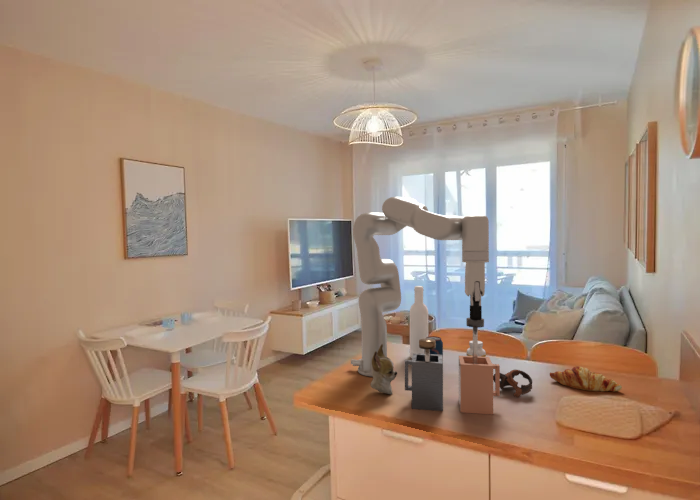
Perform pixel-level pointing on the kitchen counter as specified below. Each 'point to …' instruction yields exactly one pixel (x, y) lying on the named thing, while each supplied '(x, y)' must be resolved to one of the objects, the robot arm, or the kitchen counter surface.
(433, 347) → the plunger bronze
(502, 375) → the brown curved piece
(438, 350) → the soda can
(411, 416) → the kitchen counter surface
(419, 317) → the bottle
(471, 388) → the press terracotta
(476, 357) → the grey plunger
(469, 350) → the supplement bottle
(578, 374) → the croissant
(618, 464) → the kitchen counter surface
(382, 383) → the ceramic sculpture
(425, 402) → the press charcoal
